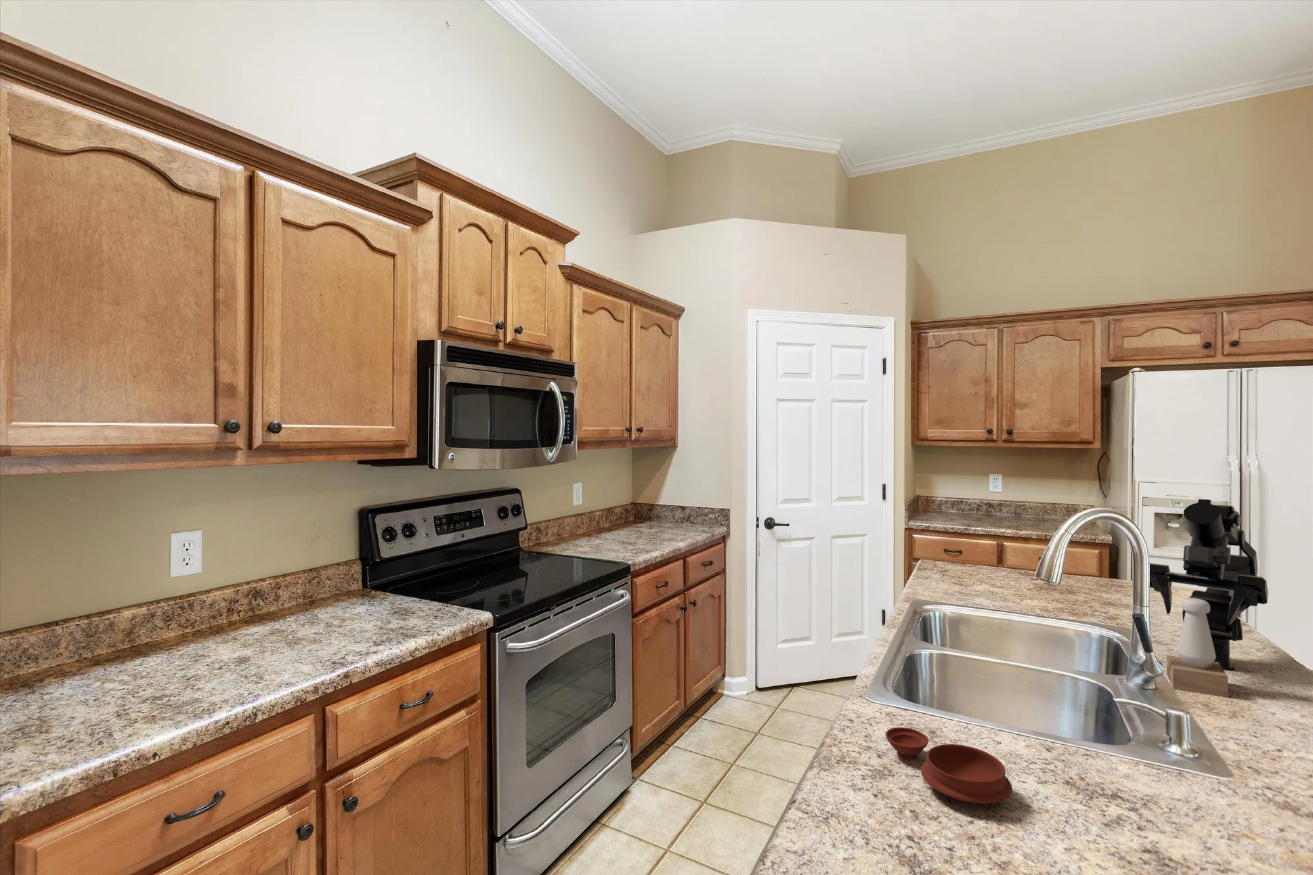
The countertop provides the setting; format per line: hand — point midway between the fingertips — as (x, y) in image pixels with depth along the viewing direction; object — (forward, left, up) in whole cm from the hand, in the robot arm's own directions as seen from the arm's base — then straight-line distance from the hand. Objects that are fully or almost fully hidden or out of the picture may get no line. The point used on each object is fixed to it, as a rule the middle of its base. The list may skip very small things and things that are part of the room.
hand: (1197, 617), depth 124 cm
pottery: (+60, -38, -13) cm, 73 cm away
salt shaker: (+1, 0, -9) cm, 9 cm away
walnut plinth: (+1, 0, -13) cm, 13 cm away
